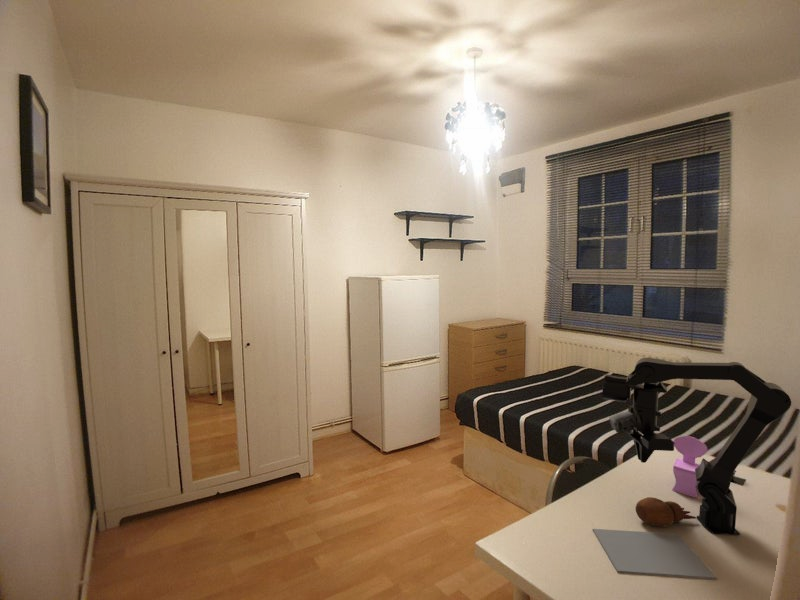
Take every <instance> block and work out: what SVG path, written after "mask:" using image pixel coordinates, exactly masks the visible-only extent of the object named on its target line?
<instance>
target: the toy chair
mask: <svg viewBox="0 0 800 600" xmlns="http://www.w3.org/2000/svg"><path fill="white" fill-rule="evenodd" d="M672 441H673V442H674V443H675V444H674V449H676V451H677V452H678V453H680V454H681V455H682V459H681V458H678V457H676V458H675V460H674V464H673V468H672V471H673V475H674V479H675V482H674V483H675V484H674V486H673V488H672V489H671V491H673V492H676V493H680V494H683V495H687V496H690V497H693V498H695V499H699V495H698V494H697V490H696V488H697V482H696V474H695V469H696V468H698V467H699V466H700V464H701V463H698V462H696V459H698V458H701V457H703V456H704V455H706V453H708V446H707V445H706V444H705V443H704V442H702V441H701V440H700V439H698V438H696V437H693V436H690V435H684V436H683V435H682V436H677V437H676V438H674V439H673V440H672Z"/></svg>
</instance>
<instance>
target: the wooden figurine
mask: <svg viewBox="0 0 800 600" xmlns="http://www.w3.org/2000/svg"><path fill="white" fill-rule="evenodd" d="M635 513H636V515H637V516H638V518H639V519H640V520H641V521H642V522H644V523H645V524H647V525H650V526H653V527H658V528H662V527H667V526H670V525H672V524H673V523H677V522H681V521H683V520H691V519H693V520H694V519H697V516H693V515H690V514H691V511H688V510H685V508H684V507H682V506H681V505H680V504H679V503H677V502H675V501H671V500H670V501H668V500H667V501H664V500H662V499H659V498H657V497H645V498H642V499H640V500H638V501H637V503H636V505H635Z"/></svg>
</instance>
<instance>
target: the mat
mask: <svg viewBox="0 0 800 600" xmlns="http://www.w3.org/2000/svg"><path fill="white" fill-rule="evenodd" d="M592 532H593V534H594V535H595V537H596V538H597V541H598V542H599V543H600V545H601V547H602V549H603V551H604V552H605V554H606V556H607V557H608V559H609V560H610V562H611V564H612V566H613V568H614V569H615V571H616V572H617V573H619V574H633V575H634V574H635V575H648V576H649V575H651V576H661V577H662V576H665V577H666V576H667V577H679V578H681V577H682V578H691V579H706V580H707V579H709V580H718V578H717V575H715V574H714V572H713V571H712V570H711V569H710V568H709V567H708V566H707V565H706V563H704V561H703V560H702V559H701V558H700V556H698V555H697V554H696V552H695V551H694V550H693V549H692V548H691V547H690V546H689V544H688V543H687V542H686V541H685V540H684V539H683V538H682V537H681V536H680V535H679V534H678V533H669V532H655V531H654V532H653V531H652V532H651V531H637V530H636V531H634V530H621V529H620V530H619V529H618V530H617V529H605V528H603V529H601V528H592Z"/></svg>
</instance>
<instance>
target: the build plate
mask: <svg viewBox="0 0 800 600" xmlns="http://www.w3.org/2000/svg"><path fill="white" fill-rule="evenodd" d="M736 472H737V471H736V469H735V470H734V472H733V475H732V479H731V483H733V484H736V485H739V486H742V487H744V485H745V483H746V481H747V479H746V478H743V477H738V476H737V475H736Z"/></svg>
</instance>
